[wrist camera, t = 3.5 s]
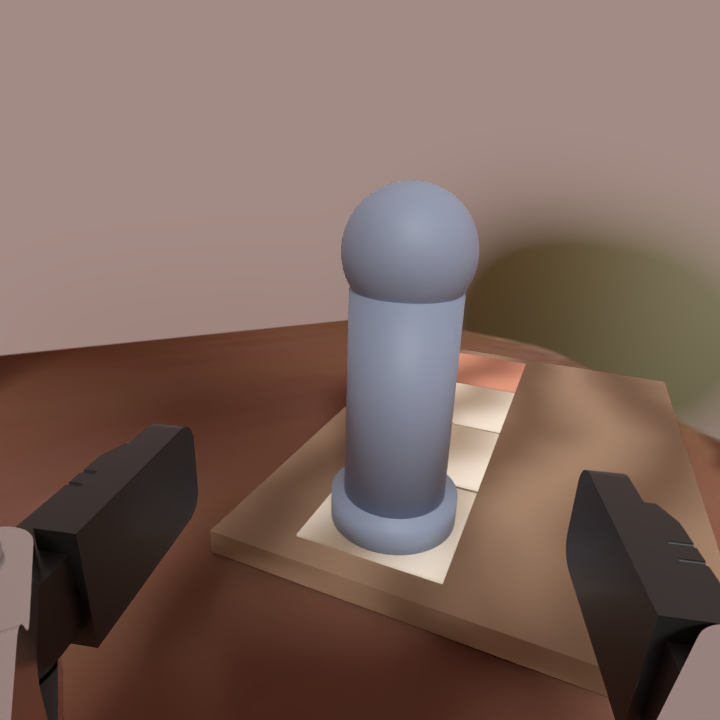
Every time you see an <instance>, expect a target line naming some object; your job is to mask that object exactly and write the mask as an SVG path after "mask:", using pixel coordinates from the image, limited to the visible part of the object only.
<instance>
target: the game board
mask: <svg viewBox="0 0 720 720" xmlns="http://www.w3.org/2000/svg"><path fill="white" fill-rule="evenodd" d="M345 437H346V406H345V407H344V408H343V409H342V410H341V411H340V412H339V413H338V414H336V415H335V416H334V417H333V418H332V419H331V420H330V421H329V422H328V423H327V424H326V425H324V426H323V427H322V428H321V429H320V430H319V431H318V432H317V433H316V434H315V435H314V436H312V437H311V438H310V439H309V440H308V441H307V442H306V443H305V444H304V445H303V446H302V447H300V448H299V449H298V450H297V451H296V452H295V453H294V454H293V455H292V456H291V457H290V458H288V459H287V460H286V461H285V462H284V463H283V464H282V465H281V466H280V467H279V468H278V469H276V470H275V471H274V472H273V473H272V474H271V475H270V476H269V477H268V478H267V479H266V480H264V481H263V482H262V483H261V484H260V485H259V486H258V487H257V488H256V489H255V490H254V491H252V492H251V493H250V494H249V495H248V496H247V497H246V498H245V499H244V500H243V501H242V502H240V503H239V504H238V505H237V506H236V507H235V508H234V509H233V510H232V511H231V512H230V513H228V514H227V515H226V516H225V517H224V518H223V519H222V520H221V521H220V522H219V523H218V524H216V525H215V526H214V527H213V528H212V529H211V530H210V540H211V552H213V553H216V554H219V555H222V556H224V557H227V558H230V559H233V560H235V561H238V562H241V563H244V564H246V565H249V566H252V567H254V568H257V569H260V570H263V571H265V572H268V573H271V574H274V575H276V576H279V577H282V578H284V579H287V580H290V581H293V582H295V583H298V584H301V585H304V586H306V587H309V588H312V589H314V590H317V591H320V592H323V593H325V594H328V595H331V596H334V597H336V598H339V599H342V600H344V601H347V602H350V603H353V604H355V605H358V606H361V607H364V608H366V609H369V610H372V611H374V612H377V613H380V614H383V615H385V616H388V617H391V618H394V619H396V620H399V621H402V622H404V623H407V624H410V625H413V626H415V627H418V628H421V629H424V630H426V631H429V632H432V633H434V634H437V635H440V636H443V637H445V638H448V639H451V640H454V641H456V642H459V643H462V644H464V645H467V646H470V647H473V648H475V649H478V650H481V651H484V652H486V653H489V654H492V655H494V656H497V657H500V658H503V659H505V660H508V661H511V662H514V663H516V664H519V665H522V666H524V667H527V668H530V669H533V670H535V671H538V672H541V673H544V674H546V675H549V676H552V677H554V678H557V679H560V680H563V681H565V682H568V683H571V684H574V685H576V686H579V687H582V688H584V689H587V690H590V691H593V692H595V693H598V694H601V695H604V696H606V697H608V695H607V691H606V688H605V685H604V682H603V679H602V675H601V672H600V669H599V666H598V663H597V660H596V656H595V653H594V650H593V647H592V644H591V640H590V637H589V634H588V631H587V628H586V624H585V621H584V618H583V615H582V612H581V609H580V605H579V602H578V599H577V596H576V593H575V589H574V586H573V583H572V580H571V577H570V573H569V570H568V566H567V560H566V538H567V532H568V528H569V523H570V518H571V513H572V509H573V504H574V499H575V494H576V490H577V485H578V481H579V477H580V475H581V473H582V471H583V470H593V471H603V472H612V473H622V474H626V475H627V476H628V477H629V478H630V480H631V482H632V483H633V485H634V487H635V488H636V490H637V491H638V493H639V495H640V496H641V498H642V500H643V501H644V502H647V503H656V504H657V505H658V506H660V507H661V508H662V509H663V510H665V511H666V512H667V513H668V514H670V515H671V516H672V517H673V518H675V519H676V520H677V521H678V522H680V524H681V525H682V527H683V528H684V530H685V531H686V533H687V534H688V536H689V537H690V539H691V540H692V542H693V543H694V548H697V549H698V551H699V552H700V554H701V555H702V557H703V558H704V559H705V561H706V566H709V567H710V568H711V570H712V571H713V573H714V574H715V576H716V577H717V579H718V580H719V582H720V552H719V549H718V546H717V543H716V540H715V537H714V534H713V531H712V527H711V524H710V521H709V518H708V515H707V512H706V509H705V506H704V503H703V500H702V497H701V493H700V490H699V487H698V484H697V481H696V478H695V475H694V472H693V469H692V466H691V463H690V459H689V456H688V453H687V450H686V447H685V444H684V441H683V438H682V435H681V432H680V429H679V425H678V422H677V419H676V416H675V413H674V410H673V407H672V404H671V401H670V398H669V395H668V392H667V388H666V385H665V383H664V382H661V381H654V380H648V379H642V378H636V377H629V376H623V375H616V374H611V373H605V372H598V371H592V370H586V369H580V368H573V367H567V366H561V365H555V364H549V363H542V362H536V361H530V360H524V359H517V358H511V357H505V356H499V355H492V354H486V353H480V352H474V351H468V350H461V349H460V353H459V362H458V372H457V381H456V391H455V401H454V410H453V420H452V429H451V439H450V449H449V458H448V468H447V475H448V476H449V477H450V478H451V479H452V480H453V482H454V484H455V486H456V488H457V493H458V498H457V507H456V516H455V525H454V528H453V531H452V533H451V534H450V536H449V537H448V538H447V539H446V540H445V541H444V542H443V543H442V544H440V545H439V546H437V547H435V548H433V549H431V550H428V551H425V552H422V553H418V554H412V555H386V554H380V553H376V552H372V551H369V550H366V549H363V548H361V547H359V546H357V545H355V544H353V543H352V542H350V541H349V540H347V539H346V538H345V537H344V536H342V534H341V533H340V532H339V531H338V530H337V528H336V527H335V525H334V523H333V520H332V515H331V508H332V482H333V479H334V477H335V475H336V474H337V473H338V471H340V470H341V469H342V468H343V467H344V466H345Z"/></svg>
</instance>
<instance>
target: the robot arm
mask: <svg viewBox="0 0 720 720" xmlns="http://www.w3.org/2000/svg"><path fill="white" fill-rule="evenodd" d="M197 497H198V485H197V474H196V463H195V451H194V440H193V434H192V432H191V430H190V429H189V428H188V427H182V426H172V425H163V424H152V425H150V426H149V427H147V428H146V429H145V430H144V431H143V432H142V433H141V434H139V435H138V436H137V437H136V438H135V439H134V440H133V441H131V442H130V443H129V444H124V445H122V446H119V447H117V448H115V449H113V450H111V451H109V452H107V453H105V454H103V455H101V456H100V457H99V458H97V459H96V460H95V461H94V462H93V463H91V464H90V465H89V466H88V467H87V468H85V469H84V472H83V473H79V474H78V475H77V476H76V477H75V478H74V479H72V480H71V481H70V482H69V485H65V486H64V487H63V488H62V489H60V490H59V491H58V492H57V493H56V494H54V495H53V496H52V497H51V498H50V499H49V500H47V501H46V502H45V503H44V504H43V505H41V506H40V507H39V508H38V509H37V510H35V511H34V512H33V513H32V514H31V515H30V516H28V517H27V518H26V519H25V520H24V521H22V522H21V523H20V524H19V525H18V526H16V527H0V720H64V714H63V669H62V663H61V659H60V656H61V655H62V654H63V653H64V651H65V650H66V649H67V648H68V646H69V645H70V644H71V643H72V644H78V645H84V646H90V647H96V648H98V647H99V646H100V644H101V643H102V641H103V640H104V639H105V637H106V636H107V634H108V633H109V632H110V630H111V629H112V628H113V626H114V625H115V623H116V622H117V621H118V619H119V618H120V616H121V615H122V614H123V612H124V611H125V609H126V608H127V607H128V605H129V604H130V602H131V601H132V600H133V598H134V597H135V596H136V594H137V593H138V591H139V590H140V589H141V587H142V586H143V584H144V583H145V582H146V580H147V579H148V577H149V576H150V575H151V573H152V572H153V570H154V569H155V568H156V566H157V565H158V564H159V562H160V561H161V559H162V558H163V557H164V555H165V554H166V552H167V551H168V550H169V548H170V547H171V545H172V544H173V543H174V541H175V540H176V538H177V537H178V536H179V534H180V533H181V532H182V530H183V529H184V527H185V526H186V525H187V523H188V522H189V520H190V519H191V517H192V515H193V513H194V510H195V507H196V503H197ZM566 560H567V566H568V570H569V573H570V577H571V580H572V583H573V586H574V589H575V593H576V596H577V599H578V602H579V605H580V609H581V612H582V615H583V618H584V621H585V624H586V628H587V631H588V634H589V637H590V640H591V644H592V647H593V650H594V653H595V656H596V660H597V663H598V666H599V669H600V672H601V675H602V679H603V682H604V685H605V688H606V691H607V695H608V698H609V701H610V704H611V707H612V711H613V714H614V717H615V720H720V582H719V580H718V579H717V577H716V576H715V574H714V573H713V571H712V570H711V568H710V567H709V566H706V561H705V559H704V558H703V557H702V555H701V554H700V552H699V551H698V549H697V548H694V543H693V542H692V540H691V539H690V537H689V536H688V534H687V533H686V531H685V530H684V528H683V527H682V525H681V524H680V522H678V521H677V520H676V519H675V518H673V517H672V516H671V515H670V514H668V513H667V512H666V511H665V510H663V509H662V508H661V507H660V506H658V505H657V504H656V503H647V502H644V501H643V500H642V498H641V496H640V495H639V493H638V491H637V490H636V488H635V487H634V485H633V483H632V482H631V480H630V478H629V477H628V476H627V475H626V474H622V473H612V472H603V471H593V470H583V471H582V473H581V475H580V477H579V481H578V485H577V490H576V494H575V499H574V504H573V509H572V513H571V518H570V523H569V528H568V532H567V538H566Z"/></svg>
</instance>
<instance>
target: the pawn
mask: <svg viewBox="0 0 720 720" xmlns="http://www.w3.org/2000/svg"><path fill="white" fill-rule="evenodd" d="M341 258H342V265H343V270H344V273H345V276H346V279H347V281H348V283H349V285H350V288H349V313H348V315H349V317H348V354H347V396H346V437H345V466H344V467H343V468H342V469H341V470H340V471H338V473H337V474H336V475H335V477H334V479H333V482H332V508H331V515H332V520H333V523H334V525H335V527H336V528H337V530H338V531H339V532H340V533H341V534H342V536H344V537H345V538H346V539H347V540H349V541H350V542H352V543H353V544H355V545H357V546H359V547H361V548H363V549H366V550H369V551H372V552H376V553H380V554H386V555H412V554H418V553H422V552H425V551H428V550H431V549H433V548H435V547H437V546H439V545H440V544H442V543H443V542H444V541H445V540H446V539H447V538H448V537H449V536H450V534H451V533H452V531H453V528H454V525H455V516H456V507H457V498H458V493H457V488H456V486H455V484H454V482H453V480H452V479H451V478H450V477H449V476H448V475H447V468H448V458H449V449H450V439H451V429H452V420H453V410H454V401H455V391H456V381H457V372H458V362H459V353H460V343H461V333H462V323H463V314H464V304H465V295H466V294H465V291H466V290H467V288H468V287H469V285H470V284H471V281H472V279H473V277H474V275H475V272H476V269H477V265H478V259H479V239H478V234H477V230H476V227H475V224H474V221H473V219H472V217H471V215H470V213H469V212H468V210H467V209H466V207H465V206H464V205H463V204H462V203H461V202H460V200H458V199H457V197H455V196H454V195H453V194H451V193H450V192H449V191H447V190H445V189H444V188H442V187H440V186H437V185H435V184H432V183H428V182H424V181H416V180H408V181H407V180H405V181H400V182H394V183H391V184H388V185H385V186H383V187H381V188H379V189H377V190H376V191H374V192H373V193H371V194H370V195H369V196H367V197H366V198H365V199H364V200H363V201H362V202H361V203H360V204H359V205H358V206H357V207H356V209H355V210H354V212H353V213H352V215H351V216H350V218H349V220H348V222H347V225H346V227H345V230H344V234H343V238H342V245H341Z"/></svg>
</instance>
